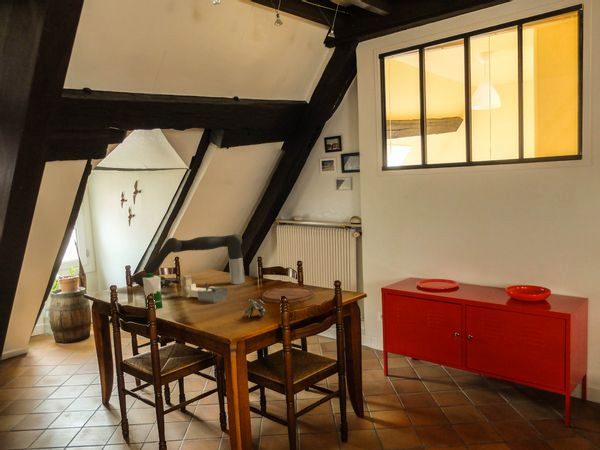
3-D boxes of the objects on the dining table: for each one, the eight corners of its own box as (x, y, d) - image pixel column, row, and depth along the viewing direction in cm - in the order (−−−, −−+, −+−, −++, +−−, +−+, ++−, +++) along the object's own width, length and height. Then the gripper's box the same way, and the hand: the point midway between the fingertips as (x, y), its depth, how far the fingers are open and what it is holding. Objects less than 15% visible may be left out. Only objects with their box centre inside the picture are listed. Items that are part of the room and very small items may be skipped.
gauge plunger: (188, 296, 301) (187, 282, 300) (196, 293, 307) (195, 280, 306) (204, 298, 294) (203, 284, 293) (212, 295, 299) (211, 282, 298)
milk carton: (157, 304, 290) (155, 271, 287) (164, 307, 283) (161, 273, 281) (143, 308, 284) (140, 274, 282) (150, 311, 277) (147, 276, 275)
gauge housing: (198, 301, 293) (197, 290, 293) (212, 296, 303) (211, 286, 303) (214, 303, 286) (213, 292, 285) (228, 298, 296) (227, 288, 295)
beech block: (182, 296, 306) (180, 276, 305) (187, 294, 310) (185, 274, 309) (187, 297, 304) (185, 276, 302) (192, 295, 308) (191, 275, 306)
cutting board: (304, 305, 273) (304, 300, 272) (252, 302, 284) (252, 298, 284) (321, 291, 303) (321, 287, 302) (274, 289, 314) (273, 285, 313)
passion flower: (262, 326, 256) (271, 310, 250) (244, 326, 250) (252, 310, 244) (255, 310, 264) (263, 294, 258) (237, 310, 258) (245, 294, 252)
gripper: (147, 278, 315) (165, 280, 306) (165, 273, 327) (182, 275, 318) (148, 289, 316) (166, 292, 307) (166, 284, 328) (183, 286, 319)
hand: (174, 283), depth 312 cm, fingers open, 8 cm apart
